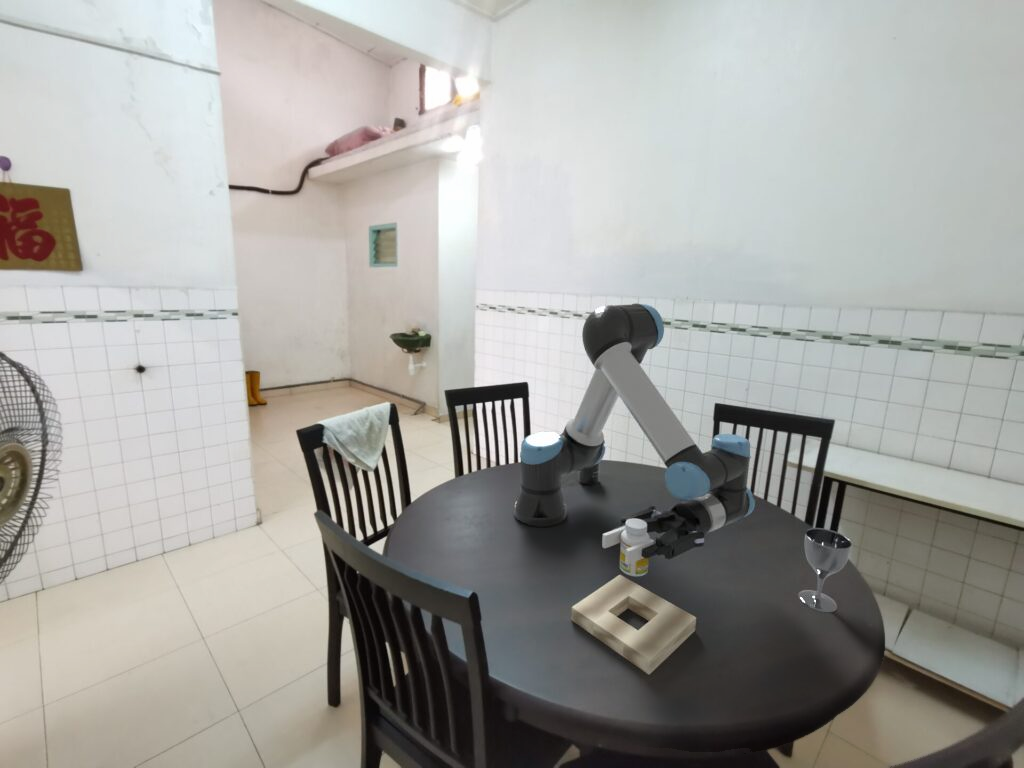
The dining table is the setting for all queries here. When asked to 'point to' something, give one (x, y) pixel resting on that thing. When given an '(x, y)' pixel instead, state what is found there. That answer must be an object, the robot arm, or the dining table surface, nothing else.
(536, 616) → the dining table surface
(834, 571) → the wine glass
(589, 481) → the supplement bottle
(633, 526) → the supplement bottle
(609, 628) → the socket block
